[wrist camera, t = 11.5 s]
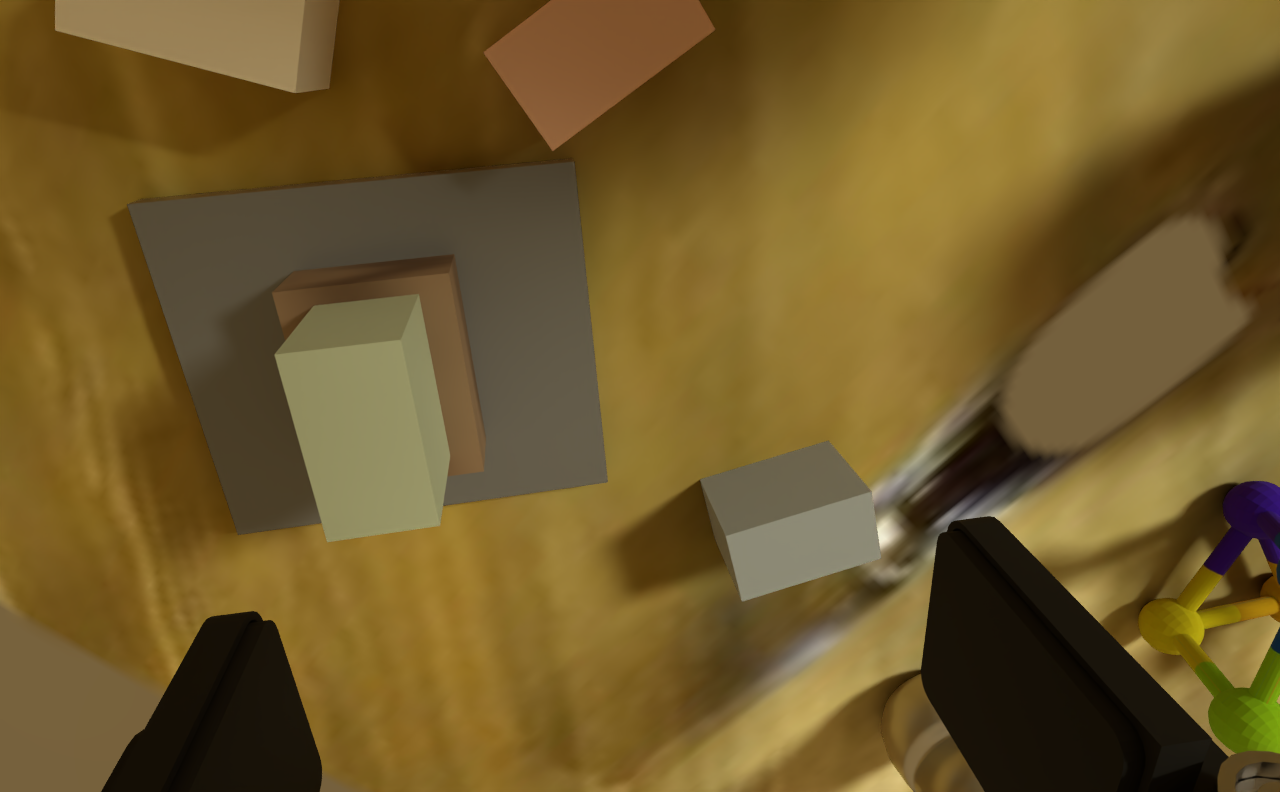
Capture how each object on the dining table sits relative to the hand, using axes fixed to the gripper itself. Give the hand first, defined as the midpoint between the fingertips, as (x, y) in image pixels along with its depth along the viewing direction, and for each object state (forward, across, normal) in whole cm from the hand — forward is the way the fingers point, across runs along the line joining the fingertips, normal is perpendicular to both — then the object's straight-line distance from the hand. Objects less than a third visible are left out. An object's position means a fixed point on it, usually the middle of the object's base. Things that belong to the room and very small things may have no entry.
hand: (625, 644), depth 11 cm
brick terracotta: (+24, -2, -8) cm, 25 cm away
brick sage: (+19, +7, +3) cm, 20 cm away
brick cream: (+23, +10, -9) cm, 27 cm away
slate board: (+23, +7, +4) cm, 24 cm away
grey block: (+23, -9, +13) cm, 28 cm away
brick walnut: (+22, +7, +4) cm, 23 cm away
